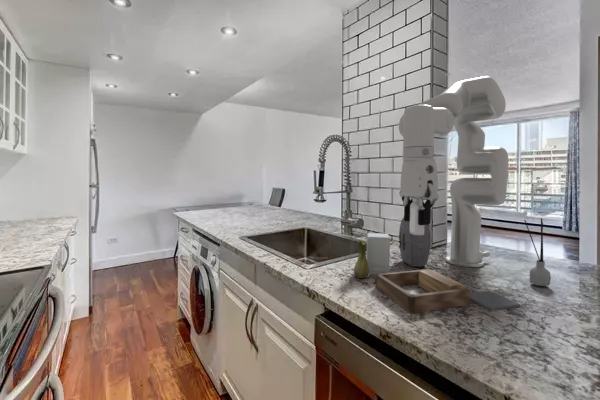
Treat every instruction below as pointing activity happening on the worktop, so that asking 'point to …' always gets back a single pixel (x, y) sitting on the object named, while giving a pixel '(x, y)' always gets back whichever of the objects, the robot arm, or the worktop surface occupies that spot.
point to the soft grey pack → (414, 245)
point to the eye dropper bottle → (415, 218)
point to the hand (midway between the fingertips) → (416, 222)
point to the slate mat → (492, 300)
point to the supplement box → (378, 253)
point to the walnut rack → (418, 302)
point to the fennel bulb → (361, 262)
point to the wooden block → (437, 281)
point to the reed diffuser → (539, 266)
